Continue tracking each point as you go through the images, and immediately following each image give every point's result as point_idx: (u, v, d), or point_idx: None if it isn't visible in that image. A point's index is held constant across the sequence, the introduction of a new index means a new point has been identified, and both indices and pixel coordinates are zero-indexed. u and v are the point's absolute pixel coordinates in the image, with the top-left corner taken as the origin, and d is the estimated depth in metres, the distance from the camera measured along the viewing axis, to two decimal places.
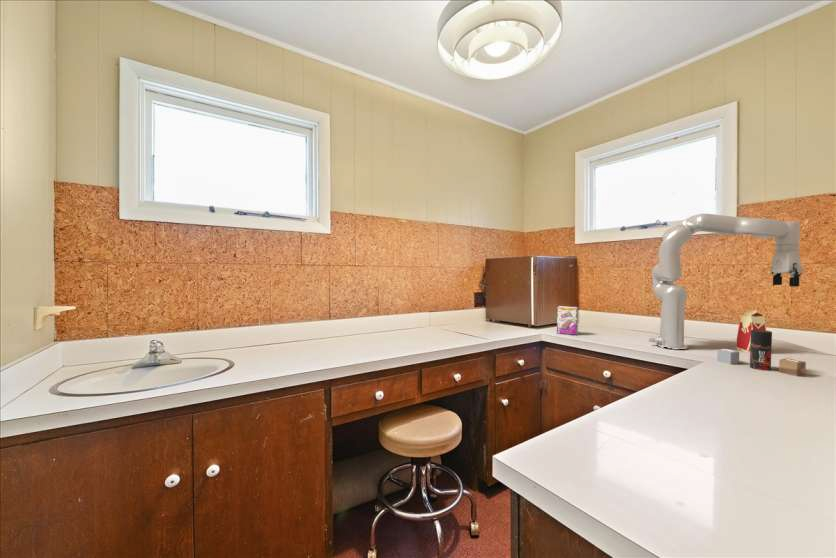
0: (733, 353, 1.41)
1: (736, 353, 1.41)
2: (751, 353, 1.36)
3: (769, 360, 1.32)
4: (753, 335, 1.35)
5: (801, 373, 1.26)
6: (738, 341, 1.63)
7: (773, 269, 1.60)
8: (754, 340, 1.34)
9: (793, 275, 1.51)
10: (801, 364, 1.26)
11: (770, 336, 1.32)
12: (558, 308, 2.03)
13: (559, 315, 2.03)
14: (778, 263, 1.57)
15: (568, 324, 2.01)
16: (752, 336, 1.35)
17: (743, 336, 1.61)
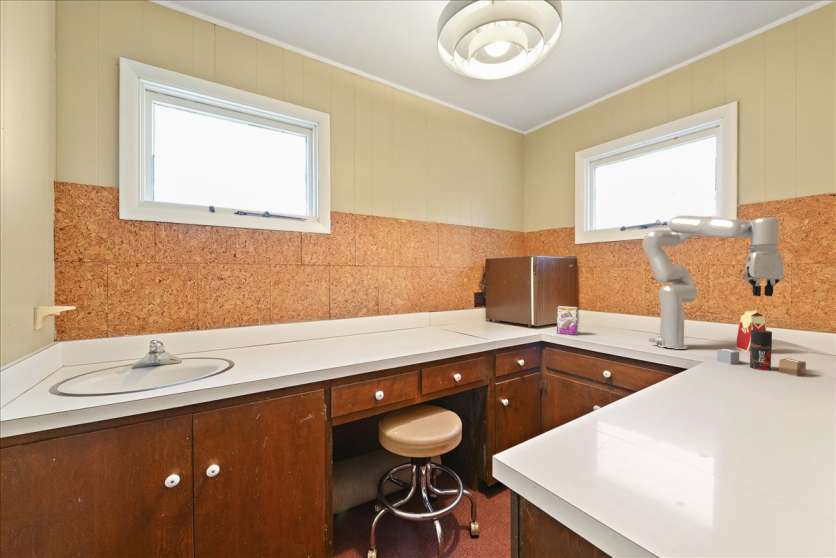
0: (733, 353, 1.41)
1: (736, 353, 1.41)
2: (751, 353, 1.36)
3: (769, 360, 1.32)
4: (753, 335, 1.35)
5: (801, 373, 1.26)
6: (738, 341, 1.63)
7: (758, 274, 1.31)
8: (754, 340, 1.34)
9: (774, 284, 1.32)
10: (801, 364, 1.26)
11: (770, 336, 1.32)
12: (558, 308, 2.03)
13: (559, 315, 2.03)
14: (768, 267, 1.30)
15: (568, 324, 2.01)
16: (752, 336, 1.35)
17: (743, 336, 1.61)
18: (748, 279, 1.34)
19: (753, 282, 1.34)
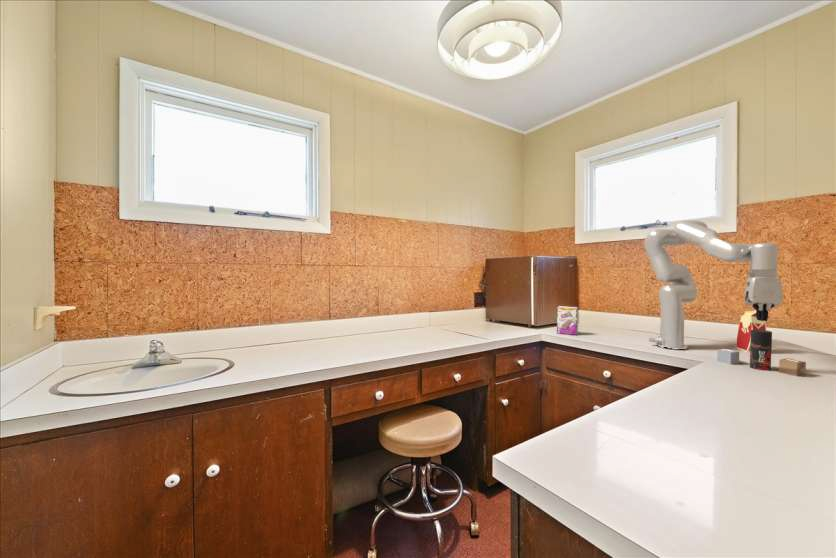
0: (733, 353, 1.41)
1: (736, 353, 1.41)
2: (751, 353, 1.36)
3: (769, 360, 1.32)
4: (753, 335, 1.35)
5: (801, 373, 1.26)
6: (738, 341, 1.63)
7: (757, 299, 1.32)
8: (754, 340, 1.34)
9: (769, 309, 1.32)
10: (801, 364, 1.26)
11: (770, 336, 1.32)
12: (558, 308, 2.03)
13: (559, 315, 2.03)
14: (767, 292, 1.31)
15: (568, 324, 2.01)
16: (752, 336, 1.35)
17: (743, 336, 1.61)
18: (751, 304, 1.34)
19: (757, 307, 1.34)
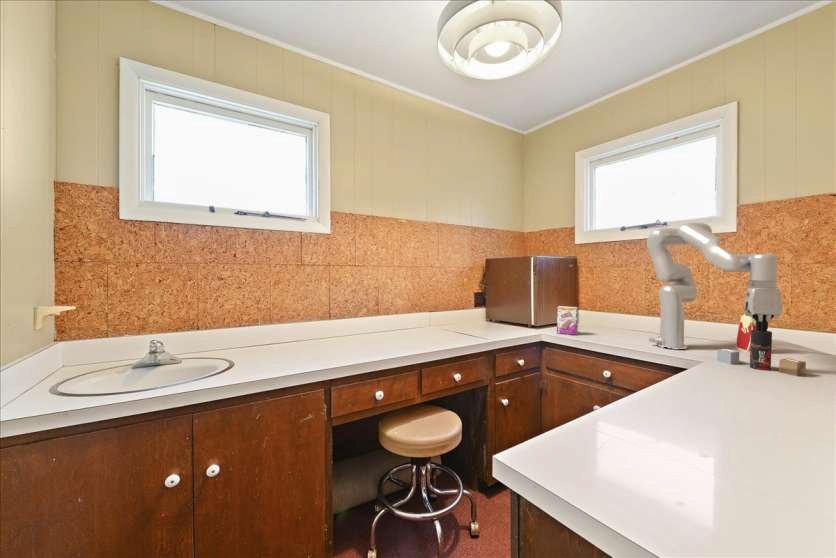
0: (733, 353, 1.41)
1: (736, 353, 1.41)
2: (751, 353, 1.36)
3: (769, 360, 1.32)
4: (753, 335, 1.35)
5: (801, 373, 1.26)
6: (738, 341, 1.63)
7: (757, 310, 1.32)
8: (754, 340, 1.34)
9: (769, 320, 1.33)
10: (801, 364, 1.26)
11: (770, 336, 1.32)
12: (558, 308, 2.03)
13: (559, 315, 2.03)
14: (767, 303, 1.31)
15: (568, 324, 2.01)
16: (752, 336, 1.35)
17: (743, 336, 1.61)
18: (751, 315, 1.34)
19: (756, 317, 1.34)
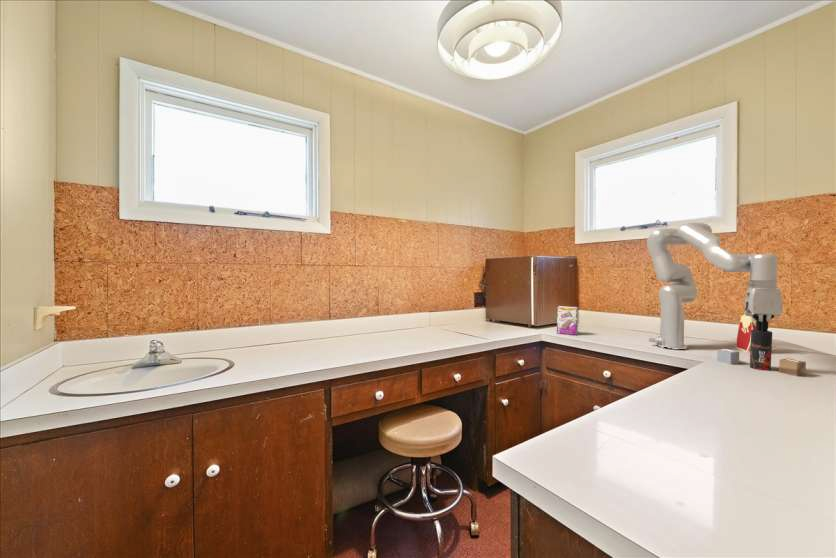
0: (733, 353, 1.41)
1: (736, 353, 1.41)
2: (751, 353, 1.36)
3: (769, 360, 1.32)
4: (753, 335, 1.35)
5: (801, 373, 1.26)
6: (738, 341, 1.63)
7: (757, 310, 1.32)
8: (754, 340, 1.34)
9: (769, 320, 1.32)
10: (801, 364, 1.26)
11: (770, 336, 1.31)
12: (558, 308, 2.03)
13: (559, 315, 2.03)
14: (767, 303, 1.31)
15: (568, 324, 2.01)
16: (752, 336, 1.35)
17: (743, 336, 1.61)
18: (751, 315, 1.34)
19: (757, 317, 1.34)
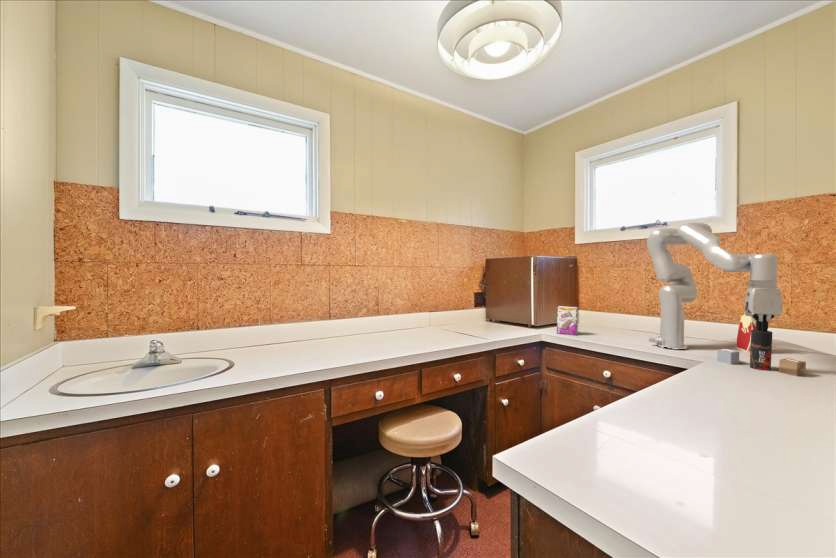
0: (733, 353, 1.41)
1: (736, 353, 1.41)
2: (751, 353, 1.36)
3: (769, 360, 1.32)
4: (753, 335, 1.35)
5: (801, 373, 1.26)
6: (738, 341, 1.63)
7: (757, 310, 1.32)
8: (754, 340, 1.34)
9: (769, 320, 1.32)
10: (801, 364, 1.26)
11: (770, 336, 1.31)
12: (558, 308, 2.03)
13: (559, 315, 2.03)
14: (767, 303, 1.31)
15: (568, 324, 2.01)
16: (752, 336, 1.35)
17: (743, 336, 1.61)
18: (751, 315, 1.34)
19: (757, 317, 1.34)
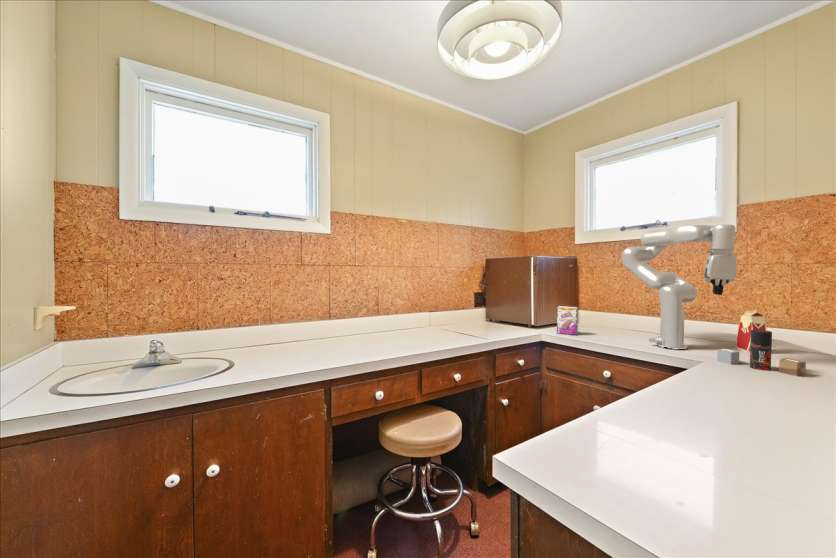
0: (733, 353, 1.41)
1: (736, 353, 1.41)
2: (751, 353, 1.36)
3: (769, 360, 1.32)
4: (753, 335, 1.35)
5: (801, 373, 1.26)
6: (738, 341, 1.63)
7: (714, 275, 1.47)
8: (754, 340, 1.34)
9: (724, 284, 1.48)
10: (801, 364, 1.26)
11: (770, 336, 1.32)
12: (558, 308, 2.03)
13: (559, 315, 2.03)
14: (723, 269, 1.46)
15: (568, 324, 2.01)
16: (752, 336, 1.35)
17: (743, 336, 1.61)
18: (709, 280, 1.49)
19: (713, 282, 1.49)
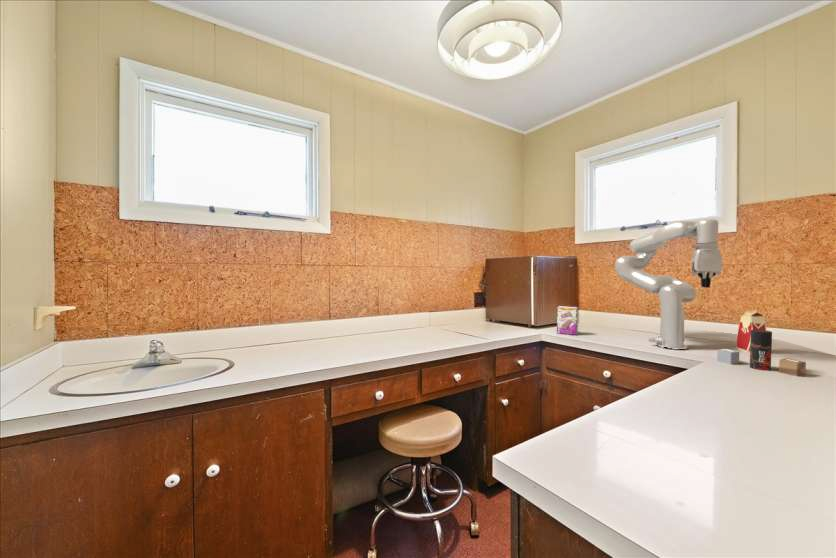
0: (733, 353, 1.41)
1: (736, 353, 1.41)
2: (751, 353, 1.36)
3: (769, 360, 1.32)
4: (753, 335, 1.35)
5: (801, 373, 1.26)
6: (738, 341, 1.63)
7: (701, 268, 1.52)
8: (754, 340, 1.34)
9: (711, 277, 1.53)
10: (801, 364, 1.26)
11: (770, 336, 1.32)
12: (558, 308, 2.03)
13: (559, 315, 2.03)
14: (709, 262, 1.51)
15: (568, 324, 2.01)
16: (752, 336, 1.35)
17: (743, 336, 1.61)
18: (696, 273, 1.55)
19: (701, 275, 1.54)
